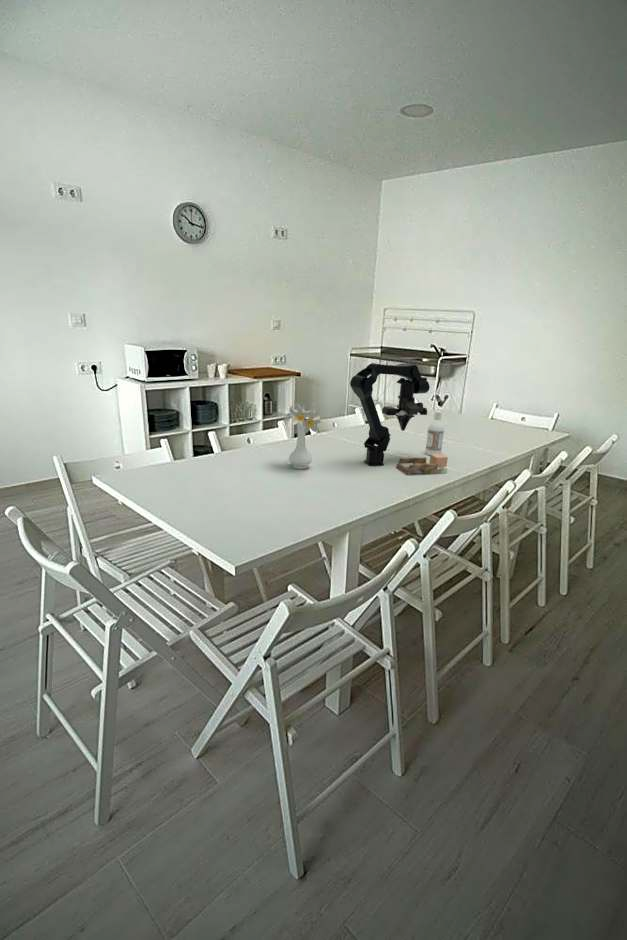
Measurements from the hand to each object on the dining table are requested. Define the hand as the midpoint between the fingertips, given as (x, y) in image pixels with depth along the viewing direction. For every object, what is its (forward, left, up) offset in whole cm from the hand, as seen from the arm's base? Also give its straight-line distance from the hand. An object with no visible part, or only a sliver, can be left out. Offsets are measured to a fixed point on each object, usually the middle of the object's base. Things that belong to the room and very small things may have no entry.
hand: (402, 430), depth 208 cm
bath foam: (+20, +6, -13) cm, 25 cm away
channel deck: (+2, -16, -13) cm, 21 cm away
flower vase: (-46, -5, -13) cm, 48 cm away
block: (+9, -16, -11) cm, 22 cm away
